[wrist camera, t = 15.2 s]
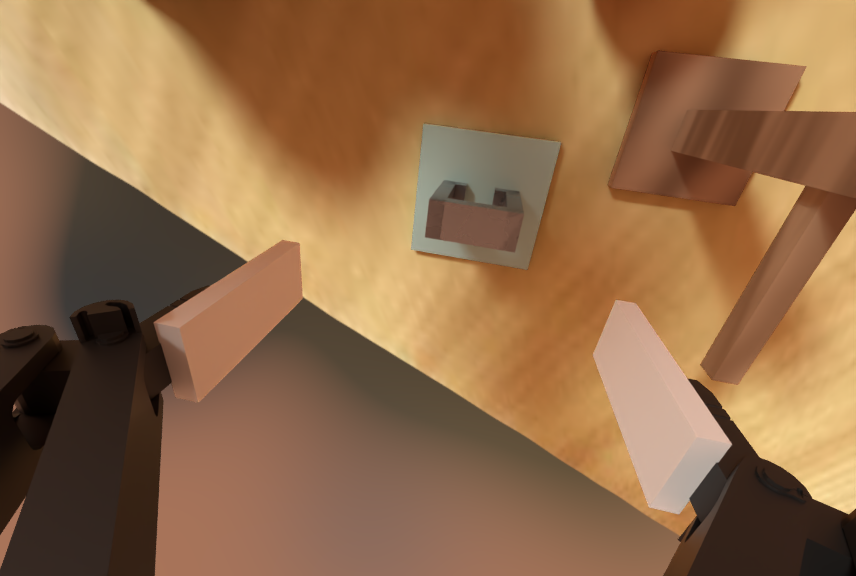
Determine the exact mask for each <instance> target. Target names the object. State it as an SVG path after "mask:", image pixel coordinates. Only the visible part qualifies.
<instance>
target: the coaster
mask: <svg viewBox="0 0 856 576" xmlns="http://www.w3.org/2000/svg"><path fill="white" fill-rule="evenodd" d="M560 146H561V142H560V141H552V140H545V139H537V138H530V137H523V136H515V135H508V134H501V133H493V132H486V131H478V130H471V129H464V128H456V127H449V126H442V125H434V124H427V123H424V124H423V133H422V143H421V154H420V164H419V174H418V184H417V194H416V205H415V215H414V225H413V235H412V246H411V250H416V251H422V252H427V253H433V254H439V255H445V256H450V257H456V258H462V259H468V260H473V261H479V262H485V263H491V264H496V265H502V266H508V267H513V268H519V269H525V270H528V267H529V263H530V259H531V255H532V251H533V248H534V244H535V240H536V236H537V233H538V229H539V225H540V221H541V218H542V214H543V210H544V206H545V202H546V199H547V195H548V191H549V187H550V184H551V180H552V176H553V172H554V169H555V165H556V161H557V157H558V154H559V150H560ZM444 180H448V181H455V182H461V183H467V189H466V195H465V201H469V202H476V203H482V204H489V205H492V202H493V197H494V192H495V188H501V189H507V190H514V191H519V192H520V197H521V201H522V206H523V211H524V217H523V221H522V226H521V230H520V234H519V238H518V242H517V246H516V250H515V253H514V252H508V251H502V250H496V249H490V248H484V247H479V246H473V245H467V244H461V243H455V242H449V241H443V240H437V239H432V238H426V237H425V231H426V222H427V213H428V205H429V199H430V197H431V196H432V195H433V193H434V192H435V191H436V190H437V188H438V187H439V186H440V185H441V183H442V182H443V181H444Z"/></svg>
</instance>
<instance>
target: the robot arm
mask: <svg viewBox="0 0 856 576" xmlns="http://www.w3.org/2000/svg"><path fill="white" fill-rule="evenodd" d="M302 299H303V296H302V278H301V261H300V243H296V242H290V241H285V240H282V241H280V242H279V243H277V244H276V245H274V246H273V247H271V248H270V249H268V250H266V251H265V252H263V253H262V254H260V255H259V256H257V257H255V258H254V259H252V260H251V261H249V262H248V263H246V264H244V265H243V266H241V267H240V268H238V269H237V270H235V271H234V272H232V273H230V274H229V275H227V276H226V277H224V278H222V279H221V280H219V281H218V282H216V283H215V284H213V285H211V286H205V287H202V288H200V289H197V290H194V291H192V292H190V293H188V294H187V295H185V296H183V297H182V298H180V300H177V301H175V302H174V303H172V304H171V305H170V307H169V306H167V307H165V308H164V309H163V310H161V311H159V312H157V313H156V314H154V315H153V316H151V317H149V318H148V319H146V320H144V321H143V322H141V323H139V321H138V318H137V315H136V312H135V309H134V306H133V304H132V303H130V302H128V301H124V300H106V301H101V302H97V303H93V304H90V305H87V306H84V307H82V308H80V309H79V310H77V311H75V312H74V313H73V314H72V315H71V316H70V319H71V322H72V324H73V327H74V329H75V331H76V333H77V336H78V338H79V340H69V341H59V339H58V337H57V335H56V332H55V330H54V328H52V327H50V326H47V325H33V326H22V327H18V328H14V329H10V330H8V331H6V332H4V333H1V334H0V534H1V533H2V531H3V530H4V528H5V527H6V525H7V524H8V522H9V521H10V519H11V518H12V516H13V515H14V513H15V512H16V510H17V509H18V507H19V506H20V504H21V503H22V501H23V500H24V498H25V497H26V498H25V501H24V504H23V507H22V509H21V512H20V515H19V518H18V521H17V524H16V526H15V529H14V532H13V535H12V538H11V540H10V543H9V546H8V549H7V552H6V555H5V558H4V560H3V563H2V566H1V569H0V576H155V557H156V538H157V537H156V536H157V517H158V498H159V477H160V459H161V458H160V457H161V439H162V419H163V397H162V394H161V391H162V390H163V389H164V388H166V387H167V386H168V385H169V384H170V383H171V384H172V387H173V391H174V394H175V397H176V398H180V399H184V400H188V401H193V402H197V403H199V402H200V401H201V400H202V399H203V398H204V397H205V396H206V395H207V394H208V393H209V392H210V391H211V390H212V389H213V388H214V387H215V386H216V385H217V384H218V383H219V381H221V379H223V378H224V377H225V376H226V375H227V374H228V373H229V372H230V371H231V370H232V369H233V368H234V367H235V366H236V364H238V363H239V362H240V361H241V360H242V359H243V358H244V357H245V356H246V355H247V354H248V353H249V352H250V351H251V350H252V349H253V348H254V347H255V346H256V345H257V344H258V343H259V342H260V341H261V340H262V339H263V338H264V337H265V336H266V335H267V334H268V332H270V331H271V330H272V329H273V328H274V327H275V326H276V325H277V324H278V323H279V322H280V321H281V320H282V319H283V318H284V317H285V316H286V315H287V314H288V313H289V312H290V311H291V310H292V309H293V308H294V307H295V306H296V305H297V304H298V303H299V302H300V301H301V300H302ZM593 357H594V360H595V363H596V365H597V368H598V371H599V374H600V376H601V379H602V382H603V384H604V387H605V390H606V393H607V395H608V398H609V401H610V403H611V406H612V409H613V411H614V414H615V417H616V420H617V422H618V425H619V428H620V430H621V433H622V436H623V439H624V441H625V444H626V447H627V449H628V452H629V455H630V457H631V460H632V463H633V466H634V468H635V471H636V474H637V476H638V479H639V482H640V485H641V487H642V490H643V493H644V495H645V498H646V501H647V504H648V506H649V508H654V509H658V510H662V511H666V512H671V513H675V514H680V513H681V511H682V510H683V509H684V507H685V506H686V505H687V503H688V502H689V501H690V502H691V504H692V506H693V508H694V510H695V512H696V514H697V516H696V517H695V519H694V520H693V521H692V522H691V524H690V525H689V526H688V527H687V529H686V530H685V531H684V532H683V534H682V535H681V536H680V537H679V539H678V540H679V541H680V542H681V543H680V545H679V547H678V549H677V551H676V553H675V554H674V556H673V558H672V560H671V562H670V564H669V566H668V568H667V570H666V572H665V573H664V575H663V576H856V509H855V510H854V511H853V512H852V513H850V514H846V513H844V512H842V511H839V510H837V509H835V508H833V507H830V506H828V505H826V504H823V503H821V502H819V501H816V500H814V499H812V497H811V495H810V494H809V492H808V491H807V489H806V488H805V486H804V485H803V484H801V483H800V482H799V481H798V480H797V479H796V478H795V477H794V476H793V475H791V474H790V473H789V472H787V471H786V470H784V469H783V468H781V467H780V466H778V465H776V464H774V463H772V462H770V461H768V460H765V459H761V458H760V457H759V456H758V455H757V453H756V452H755V451H754V449H753V448H752V447H751V445H750V444H749V442H748V441H747V440H746V438H745V437H744V436H743V434H742V433H741V432H740V430H739V429H738V427H737V426H736V425H735V423H734V422H733V421H731V420H730V416H729V415H728V414H727V412H726V411H725V410H724V409H722V406H721V404H720V403H719V401H718V400H717V399H716V397H715V396H714V395H713V393H712V392H710V391H709V390H708V389H707V388H706V387H704V386H703V385H702V384H701V383H700V382H698V381H697V380H692V379H687V377H686V376H685V374H684V373H683V372H682V370H681V369H680V367H679V366H678V364H677V363H676V361H675V360H674V358H673V357H672V355H671V354H670V352H669V351H668V349H667V348H666V347H665V345H664V344H663V342H662V341H661V339H660V338H659V336H658V335H657V333H656V332H655V330H654V329H653V327H652V326H651V324H650V323H649V322H648V320H647V319H646V317H645V316H644V314H643V313H642V311H641V310H640V308H639V307H638V305H637V304H636V303H632V302H626V301H621V300H615V303H614V305H613V307H612V310H611V312H610V315H609V317H608V319H607V322H606V324H605V327H604V329H603V331H602V334H601V336H600V339H599V341H598V343H597V346H596V348H595V351H594V353H593ZM14 404H15V406H16V407H17V408H16V409H15V410H14V411H13V405H14ZM12 411H13V412H12Z"/></svg>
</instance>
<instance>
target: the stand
mask: <svg viewBox="0 0 856 576" xmlns="http://www.w3.org/2000/svg"><path fill="white" fill-rule="evenodd" d="M805 69H806V66H797V65H788V64H778V63H769V62H759V61H750V60H741V59H731V58H722V57H712V56H703V55H694V54H684V53H675V52H665V51H656V52H653V53H652V55H651V58H650V61H649V64H648V67H647V70H646V73H645V76H644V79H643V82H642V85H641V88H640V91H639V94H638V97H637V100H636V103H635V106H634V109H633V112H632V115H631V118H630V121H629V124H628V126H627V129H626V132H625V135H624V138H623V141H622V144H621V147H620V150H619V153H618V156H617V159H616V162H615V165H614V168H613V171H612V174H611V177H610V180H609V183H608V186H609V187H611V188H616V189H623V190H629V191H636V192H643V193H650V194H657V195H663V196H670V197H677V198H684V199H691V200H698V201H704V202H711V203H718V204H725V205H732V206H735V205H736V203H737V201H738V199H739V197H740V195H741V193H742V192H743V190H744V188H745V186H746V184H747V182H748V180H749V178H750V176H751V174H752V172H755V173H759V174H763V175H767V176H770V177H774V178H778V179H782V180H786V181H790V182H794V183H797V184H801V185H805V188H804V190H803V191H802V193H801V195H800V196H799V198H798V200H797V201H796V203H795V205H794V206H793V208H792V210H791V212H790V213H789V215H788V217H787V218H786V220H785V222H784V223H783V225H782V227H781V229H780V230H779V232H778V234H777V235H776V237H775V239H774V240H773V242H772V244H771V246H770V247H769V249H768V251H767V252H766V254H765V256H764V257H763V259H762V261H761V263H760V264H759V266H758V268H757V269H756V271H755V273H754V274H753V276H752V278H751V280H750V281H749V283H748V285H747V286H746V288H745V290H744V291H743V293H742V295H741V296H740V298H739V300H738V302H737V303H736V305H735V307H734V308H733V310H732V312H731V313H730V315H729V317H728V319H727V320H726V322H725V324H724V325H723V327H722V329H721V330H720V332H719V334H718V336H717V337H716V339H715V341H714V342H713V344H712V346H711V347H710V349H709V351H708V353H707V354H706V356H705V358H704V359H703V361H702V363H701V364H700V365H701V366H702V368H703V369H704V370H705V371H706V373H707V374H708V375H709V377H710V378H711V379H712V380H715V381H720V382H726V383H731V384H736V385H738V384H739V382H740V381H741V379H742V378H743V376H744V375H745V373H746V372H747V370H748V369H749V367H750V366H751V364H752V363H753V361H754V360H755V358H756V357H757V355H758V354H759V352H760V351H761V349H762V348H763V347H764V345H765V344H766V342H767V341H768V339H769V338H770V336H771V335H772V333H773V332H774V330H775V329H776V327H777V326H778V324H779V323H780V321H781V320H782V318H783V317H784V315H785V314H786V312H787V311H788V309H789V308H790V306H791V305H792V303H793V302H794V300H795V299H796V297H797V296H798V294H799V293H800V291H801V290H802V288H803V287H804V286H805V284H806V283H807V281H808V280H809V278H810V277H811V275H812V274H813V272H814V271H815V269H816V268H817V266H818V265H819V263H820V262H821V260H822V259H823V257H824V256H825V254H826V253H827V251H828V250H829V248H830V247H831V245H832V244H833V242H834V241H835V239H836V238H837V236H838V235H839V233H840V232H841V230H842V229H843V227H844V226H845V225H846V223H847V222H848V220H849V219H850V217H851V216H852V214H853V213H854V211H855V210H856V112H810V111H784V110H785V108H786V106H787V104H788V102H789V100H790V98H791V96H792V94H793V92H794V90H795V88H796V86H797V84H798V82H799V80H800V78H801V76H802V74H803V73H804V71H805Z"/></svg>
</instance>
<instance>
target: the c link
mask: <svg viewBox="0 0 856 576" xmlns="http://www.w3.org/2000/svg"><path fill="white" fill-rule="evenodd" d="M466 189H467V183H461V182H455V181H448V180H444V181H443V182H442V183H441V185H440V186H439V187H438V188H437V190H436V191H435V192H434V193H433V195H432V196H431V197H430V199H429V205H428V213H427V222H426V231H425V237H426V238H432V239H437V240H443V241H449V242H455V243H461V244H467V245H473V246H479V247H484V248H490V249H496V250H502V251H508V252H514V253H515V250H516V246H517V242H518V238H519V234H520V230H521V226H522V221H523V217H524V211H523V206H522V201H521V197H520V192H519V191H514V190H507V189H501V188H495V192H494V197H493V202H492V205H489V204H482V203H476V202H469V201H465V195H466Z"/></svg>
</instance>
